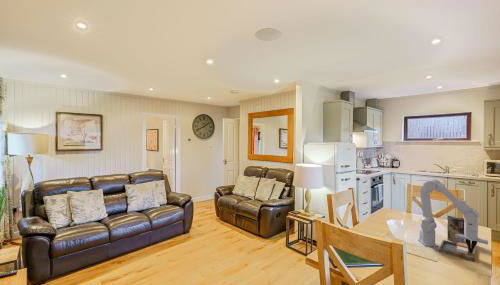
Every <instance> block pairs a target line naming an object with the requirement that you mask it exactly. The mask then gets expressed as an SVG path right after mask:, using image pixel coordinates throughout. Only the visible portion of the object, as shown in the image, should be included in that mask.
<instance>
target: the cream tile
mask: <svg viewBox="0 0 500 285" xmlns="http://www.w3.org/2000/svg"><path fill="white" fill-rule="evenodd" d="M457 252H460V253H464V254H468V248H463V247H459V246H457Z"/></svg>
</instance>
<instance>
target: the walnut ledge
mask: <svg viewBox="0 0 500 285" xmlns="http://www.w3.org/2000/svg"><path fill="white" fill-rule="evenodd" d="M456 243H457V244H456V248H455V251H454V255H453V256H454V257H456V258H460V259H462V260H463V259H464V260H467V261H471V262H475V258H476V257H475V256H476V255H475V254H476V247H475V248H474V249H473V253H469V248H468V254H464V253H460V252H457V246H458V242H456Z"/></svg>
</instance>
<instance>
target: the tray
mask: <svg viewBox="0 0 500 285" xmlns="http://www.w3.org/2000/svg"><path fill="white" fill-rule="evenodd" d="M457 243H458V242H455V241H450V240H445V239H442V241H441V243H440V246H439V249H438V252H439V253H442V254H447V255H450V256H454V251H455V248H456V244H457Z"/></svg>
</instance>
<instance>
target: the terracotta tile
mask: <svg viewBox="0 0 500 285" xmlns="http://www.w3.org/2000/svg"><path fill="white" fill-rule="evenodd" d="M457 243H458V246H459V247H463V248H468V246H467V244H466V242H464V243H460V242H457Z"/></svg>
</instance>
